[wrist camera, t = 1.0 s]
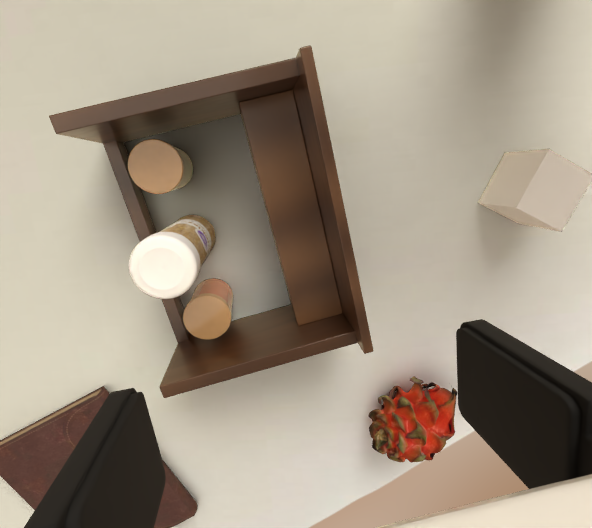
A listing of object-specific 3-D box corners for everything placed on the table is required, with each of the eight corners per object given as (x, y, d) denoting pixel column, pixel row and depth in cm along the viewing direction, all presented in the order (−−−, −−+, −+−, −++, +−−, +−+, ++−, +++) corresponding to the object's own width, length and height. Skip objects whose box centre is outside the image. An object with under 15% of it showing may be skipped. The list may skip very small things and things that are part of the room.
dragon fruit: (349, 414, 46) (421, 363, 48) (389, 477, 44) (464, 420, 45) (353, 417, 38) (439, 356, 40) (403, 495, 36) (494, 425, 37)
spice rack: (106, 132, 33) (30, 110, 22) (290, 88, 34) (311, 44, 23) (184, 343, 39) (157, 414, 28) (338, 301, 40) (373, 351, 29)
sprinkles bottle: (224, 238, 37) (211, 272, 24) (192, 265, 37) (161, 313, 24) (194, 204, 36) (163, 221, 23) (161, 232, 36) (111, 265, 23)
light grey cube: (504, 152, 39) (549, 148, 33) (545, 175, 40) (595, 175, 34) (477, 203, 40) (516, 207, 34) (518, 224, 41) (562, 231, 35)
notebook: (95, 555, 45) (88, 572, 43) (-12, 446, 40) (-25, 460, 38) (198, 500, 45) (196, 515, 43) (106, 384, 39) (98, 395, 38)
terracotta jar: (187, 283, 38) (176, 303, 32) (227, 272, 38) (223, 290, 32) (200, 319, 39) (191, 345, 33) (238, 309, 39) (236, 332, 33)
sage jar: (141, 150, 34) (119, 146, 28) (185, 140, 34) (172, 133, 28) (157, 195, 35) (138, 199, 29) (199, 184, 35) (190, 186, 30)
